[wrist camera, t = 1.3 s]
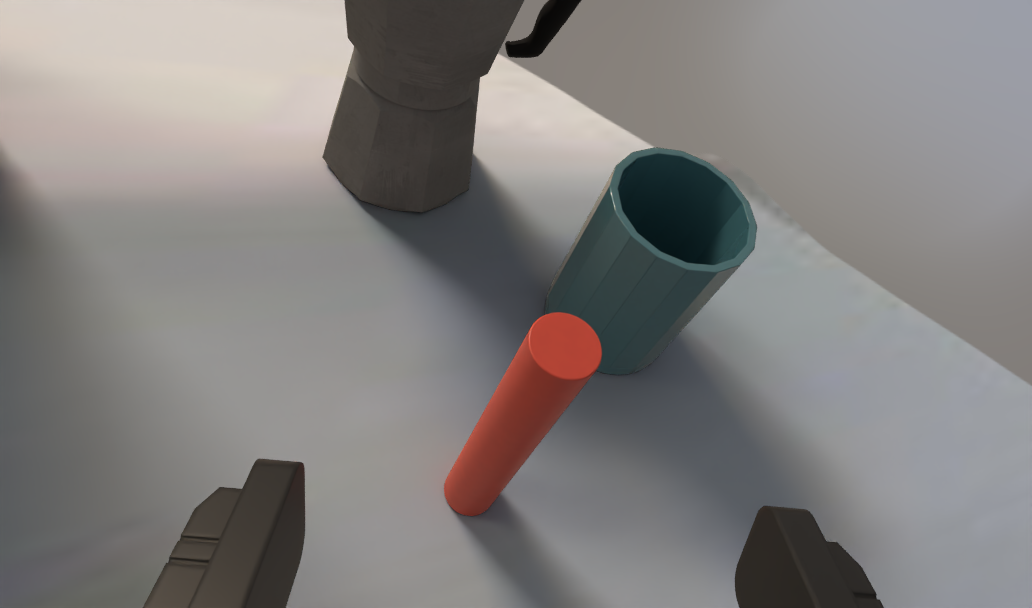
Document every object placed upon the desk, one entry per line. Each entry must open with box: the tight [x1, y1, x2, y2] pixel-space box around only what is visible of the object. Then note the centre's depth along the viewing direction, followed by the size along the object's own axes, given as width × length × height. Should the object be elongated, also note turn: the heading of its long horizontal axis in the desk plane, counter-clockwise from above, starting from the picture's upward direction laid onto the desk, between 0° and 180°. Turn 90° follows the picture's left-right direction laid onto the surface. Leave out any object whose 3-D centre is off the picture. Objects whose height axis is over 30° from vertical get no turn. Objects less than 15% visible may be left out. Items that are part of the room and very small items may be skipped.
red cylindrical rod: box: [444, 312, 602, 516], centre depth 28 cm, size 2×2×14 cm
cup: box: [545, 147, 757, 375], centre depth 37 cm, size 7×7×10 cm
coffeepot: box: [323, 0, 581, 213], centre depth 36 cm, size 15×9×18 cm, turn 110°
